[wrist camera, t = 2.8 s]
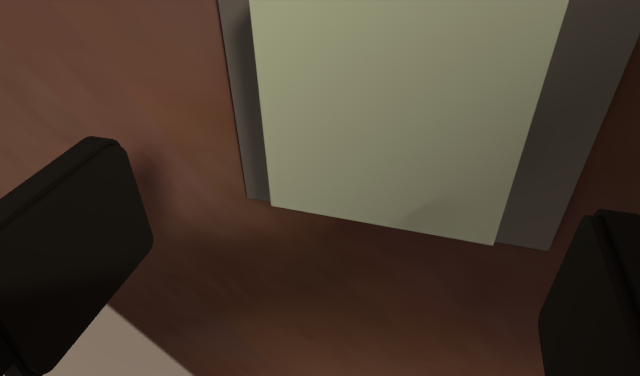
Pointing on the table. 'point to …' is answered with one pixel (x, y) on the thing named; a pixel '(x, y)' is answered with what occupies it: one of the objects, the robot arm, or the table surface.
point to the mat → (545, 130)
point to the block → (401, 106)
